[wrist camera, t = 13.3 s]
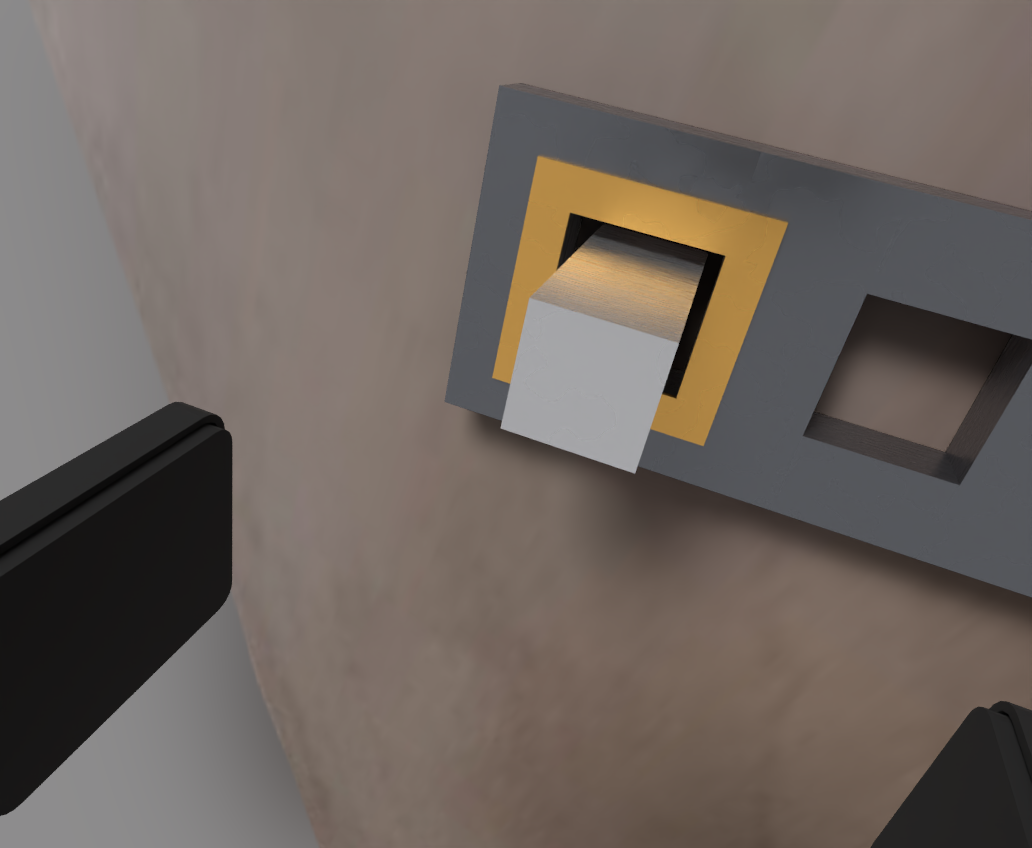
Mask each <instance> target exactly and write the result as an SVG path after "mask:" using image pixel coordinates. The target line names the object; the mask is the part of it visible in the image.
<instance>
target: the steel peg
mask: <svg viewBox="0 0 1032 848" xmlns="http://www.w3.org/2000/svg"><path fill="white" fill-rule="evenodd" d="M707 256H708V253H706V252H703V251H699V250H696V249H692V248H689V247H685V246H682V245H678V244H674V243H671V242H667V241H664V240H660V239H657V238H653V237H649V236H646V235H642V234H639V233H635V232H632V231H628V230H625V229H621V228H617V227H614V226H610V225H607V224H603V225H602V226H601V227H600V228H599V229H598V230H597V231H596V232H595V233H594V234H593V235H592V236H591V237H590V238H589V239H588V240H587V241H586V242H585V243H584V244H583V245H582V246H581V247H580V248H579V249H578V250H577V251H576V252H575V253H574V254H573V255H572V256H571V257H570V258H569V259H568V260H567V261H566V262H565V263H564V264H563V265H562V266H561V267H560V268H559V269H558V270H557V271H556V272H555V273H554V274H553V275H552V276H551V277H550V278H549V279H548V280H547V281H546V282H545V283H544V284H543V285H542V286H541V287H540V288H539V289H538V290H537V291H536V292H535V293H534V294H533V295H532V296H531V297H530V298H529V302H528V306H527V311H526V315H525V320H524V324H523V329H522V333H521V338H520V342H519V347H518V351H517V356H516V360H515V365H514V370H513V374H512V379H511V383H510V388H509V392H508V397H507V401H506V406H505V410H504V415H503V419H502V424H501V429H504V430H507V431H510V432H513V433H516V434H519V435H522V436H525V437H528V438H531V439H534V440H537V441H540V442H542V443H545V444H548V445H551V446H554V447H557V448H560V449H563V450H566V451H569V452H572V453H575V454H578V455H581V456H584V457H587V458H590V459H593V460H596V461H599V462H602V463H605V464H608V465H611V466H614V467H617V468H620V469H623V470H626V471H628V472H631V473H634V474H635V472H636V469H637V466H638V463H639V460H640V457H641V455H642V452H643V449H644V446H645V443H646V440H647V437H648V434H649V431H650V428H651V425H652V422H653V419H654V416H655V413H656V410H657V407H658V404H659V401H660V398H661V395H662V392H663V389H664V386H665V383H666V380H667V377H668V374H669V371H670V368H671V365H672V362H673V359H674V356H675V353H676V351H677V348H678V345H679V342H680V338H681V335H682V332H683V329H684V326H685V323H686V320H687V317H688V314H689V311H690V308H691V305H692V302H693V299H694V296H695V293H696V290H697V286H698V283H699V280H700V277H701V274H702V271H703V268H704V265H705V262H706V259H707Z"/></svg>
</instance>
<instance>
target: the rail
mask: <svg viewBox="0 0 1032 848" xmlns="http://www.w3.org/2000/svg"><path fill="white" fill-rule="evenodd" d="M583 216H585V217H588V218H592V219H595V220H599V221H603V222H606V223H610V224H613V225H617V226H621V227H624V228H628V229H631V230H635V231H638V232H642V233H646V234H649V235H653V236H656V237H660V238H664V239H667V240H671V241H674V242H678V243H682V244H685V245H689V246H692V247H696V248H699V249H703V250H707V251H710V252H714V253H717V254H721V255H724V257H723V260H722V263H721V265H720V268H719V271H718V274H717V277H716V280H715V283H714V286H713V289H712V292H711V294H710V297H709V300H708V303H707V306H706V309H705V312H704V315H703V318H702V321H701V323H700V326H699V329H698V332H697V335H696V338H695V341H694V344H693V347H692V350H691V352H690V355H689V358H688V361H687V364H686V367H685V370H684V372H683V371H680V370H676V369H673V368H670V371H669V374H668V377H667V380H666V383H665V386H664V389H663V392H662V395H661V398H660V401H659V404H658V407H657V410H656V413H655V416H654V419H653V422H652V425H651V428H650V431H649V434H648V437H647V440H646V443H645V446H644V449H643V452H642V455H641V457H640V460H639V463H638V466H639V467H642V468H645V469H648V470H651V471H654V472H657V473H660V474H663V475H666V476H669V477H672V478H675V479H678V480H681V481H684V482H687V483H690V484H693V485H696V486H699V487H702V488H705V489H708V490H711V491H714V492H717V493H720V494H723V495H726V496H729V497H732V498H735V499H738V500H741V501H744V502H747V503H750V504H753V505H756V506H759V507H762V508H765V509H768V510H771V511H774V512H777V513H780V514H783V515H786V516H789V517H792V518H795V519H798V520H801V521H804V522H807V523H810V524H813V525H816V526H819V527H822V528H825V529H828V530H831V531H834V532H837V533H840V534H843V535H846V536H849V537H852V538H855V539H858V540H861V541H864V542H867V543H870V544H873V545H876V546H879V547H882V548H885V549H888V550H891V551H894V552H897V553H900V554H903V555H906V556H909V557H912V558H915V559H918V560H921V561H924V562H927V563H930V564H933V565H936V566H939V567H942V568H945V569H948V570H951V571H954V572H957V573H960V574H963V575H966V576H969V577H972V578H975V579H978V580H981V581H984V582H987V583H990V584H993V585H996V586H999V587H1002V588H1005V589H1008V590H1011V591H1014V592H1017V593H1020V594H1023V595H1026V596H1029V597H1032V211H1029V210H1025V209H1021V208H1017V207H1013V206H1009V205H1005V204H1001V203H997V202H993V201H989V200H985V199H981V198H977V197H973V196H969V195H965V194H961V193H957V192H953V191H949V190H945V189H941V188H937V187H933V186H929V185H925V184H921V183H917V182H913V181H909V180H905V179H901V178H897V177H893V176H889V175H885V174H881V173H877V172H873V171H869V170H865V169H861V168H857V167H853V166H849V165H845V164H841V163H837V162H833V161H829V160H825V159H821V158H817V157H813V156H809V155H805V154H801V153H797V152H793V151H789V150H785V149H782V148H778V147H774V146H770V145H766V144H762V143H758V142H754V141H750V140H746V139H742V138H738V137H734V136H730V135H726V134H722V133H718V132H714V131H710V130H706V129H702V128H698V127H694V126H690V125H686V124H682V123H678V122H674V121H670V120H666V119H662V118H658V117H654V116H650V115H646V114H642V113H638V112H634V111H630V110H626V109H622V108H618V107H614V106H610V105H606V104H602V103H598V102H594V101H590V100H586V99H582V98H578V97H574V96H570V95H566V94H562V93H558V92H554V91H550V90H546V89H542V88H538V87H534V86H530V85H526V84H522V83H519V84H509V85H500V86H499V91H498V97H497V102H496V108H495V114H494V120H493V126H492V131H491V137H490V143H489V149H488V154H487V160H486V166H485V172H484V177H483V183H482V189H481V195H480V200H479V206H478V212H477V218H476V224H475V229H474V235H473V241H472V247H471V252H470V258H469V264H468V270H467V275H466V281H465V287H464V293H463V298H462V304H461V310H460V316H459V322H458V327H457V333H456V339H455V345H454V350H453V356H452V362H451V368H450V373H449V379H448V385H447V391H446V397H445V402H447V403H450V404H453V405H456V406H459V407H462V408H465V409H468V410H471V411H474V412H477V413H480V414H483V415H486V416H489V417H492V418H495V419H498V420H501V421H502V419H503V415H504V410H505V406H506V401H507V397H508V392H509V388H510V383H511V379H512V374H513V370H514V365H515V360H516V356H517V351H518V347H519V342H520V338H521V333H522V329H523V324H524V320H525V315H526V311H527V306H528V302H529V298H530V297H531V296H532V295H533V294H534V293H535V292H536V291H537V290H538V289H539V288H540V287H541V286H542V285H543V284H544V283H545V282H546V281H547V280H548V279H549V278H550V277H551V276H552V275H553V274H554V273H555V272H556V271H557V270H558V269H559V268H560V267H561V266H562V265H563V264H564V263H565V262H566V261H567V260H568V259H569V258H570V257H571V256H572V255H573V254H574V250H575V246H576V242H577V238H578V233H579V229H580V225H581V221H582V217H583ZM867 294H870V295H874V296H877V297H881V298H884V299H888V300H892V301H895V302H899V303H902V304H906V305H910V306H913V307H917V308H920V309H924V310H928V311H931V312H935V313H938V314H942V315H946V316H949V317H953V318H956V319H960V320H964V321H967V322H971V323H974V324H978V325H981V326H985V327H989V328H992V329H996V330H999V331H1003V332H1007V333H1010V334H1013V335H1012V336H1011V338H1010V340H1009V342H1008V343H1007V345H1006V347H1005V349H1004V350H1003V352H1002V354H1001V356H1000V357H999V359H998V361H997V363H996V364H995V366H994V368H993V370H992V371H991V373H990V375H989V377H988V379H987V380H986V382H985V384H984V386H983V387H982V389H981V391H980V393H979V394H978V396H977V398H976V400H975V401H974V403H973V405H972V407H971V408H970V410H969V412H968V414H967V415H966V417H965V419H964V421H963V422H962V424H961V426H960V428H959V429H958V431H957V433H956V435H955V436H954V438H953V440H952V442H951V443H950V445H949V447H948V449H947V450H946V452H943V451H939V450H936V449H933V448H930V447H926V446H923V445H920V444H917V443H913V442H910V441H907V440H904V439H900V438H897V437H894V436H891V435H888V434H884V433H881V432H878V431H875V430H871V429H868V428H865V427H862V426H858V425H855V424H852V423H849V422H845V421H842V420H839V419H836V418H832V417H829V416H826V415H823V414H819V413H816V412H814V410H815V408H816V405H817V403H818V401H819V399H820V397H821V394H822V392H823V390H824V388H825V386H826V383H827V381H828V379H829V377H830V374H831V372H832V370H833V368H834V366H835V363H836V361H837V359H838V357H839V355H840V352H841V350H842V348H843V346H844V344H845V341H846V339H847V337H848V335H849V333H850V330H851V328H852V326H853V324H854V322H855V319H856V317H857V315H858V313H859V310H860V308H861V306H862V304H863V302H864V299H865V297H866V295H867Z"/></svg>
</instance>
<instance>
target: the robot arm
mask: <svg viewBox="0 0 1032 848" xmlns="http://www.w3.org/2000/svg"><path fill="white" fill-rule="evenodd" d="M231 586H232V436H231V434H230V432H228V431H227V430H225V428H224V423H223V421H222V419H221V418H220V417H219V416H217V415H216V414H213V413H210V412H207V411H205V410H202V409H199V408H196V407H194V406H191V405H188V404H185V403H183V402H174V403H171V404H169V405H167V406H165V407H163V408H162V409H160V410H158V411H156V412H155V413H153V414H151V415H150V416H148V417H146V418H144V419H142V420H141V421H139V422H138V423H135V424H134V425H132V426H130V427H128V428H127V429H125V430H123V431H121V432H120V433H118V434H116V435H114V436H113V437H111V438H109V439H107V440H106V441H104V442H102V443H100V444H99V445H97V446H95V447H93V448H92V449H90V450H88V451H86V452H85V453H83V454H81V455H79V456H78V457H76V458H74V459H72V460H71V461H69V462H67V463H65V464H64V465H62V466H60V467H58V468H57V469H55V470H53V471H51V472H50V473H48V474H46V475H45V476H43V477H41V478H39V479H38V480H36V481H34V482H32V483H30V484H29V485H27V486H25V487H23V488H22V489H20V490H18V491H16V492H15V493H13V494H11V495H9V496H8V497H6V498H4V499H2V500H1V501H0V816H1V815H5V814H7V813H9V812H11V811H13V810H14V809H15V808H16V807H18V806H19V805H20V804H21V803H22V802H23V801H24V800H26V798H28V796H30V795H31V794H32V793H33V791H35V790H36V788H38V787H39V786H40V785H41V784H42V783H43V782H44V781H45V780H46V779H47V778H48V777H49V776H50V775H51V774H52V773H53V772H54V771H55V770H56V769H57V768H58V767H59V766H60V765H61V764H62V763H63V762H64V761H65V760H66V759H67V758H68V757H69V756H70V755H71V754H72V753H73V752H74V751H75V750H76V749H78V747H80V745H82V744H83V743H84V741H86V740H87V739H88V738H89V737H90V736H91V735H92V734H93V733H94V732H95V731H96V730H97V729H98V728H99V727H100V726H101V725H102V724H103V723H104V722H105V721H106V720H107V719H108V718H109V717H110V716H111V715H112V714H113V713H114V712H115V711H116V710H117V709H118V708H119V707H120V706H121V705H122V704H123V703H124V702H125V701H126V700H127V699H128V698H129V697H130V696H132V695H133V694H134V692H136V690H138V689H139V688H140V687H141V686H142V685H143V684H144V683H145V682H146V681H147V680H148V679H149V678H150V677H151V676H152V675H153V674H154V673H155V672H156V671H157V670H158V669H159V668H160V667H161V666H162V665H163V664H164V663H165V662H166V661H167V660H168V659H169V658H170V657H171V656H172V655H173V654H174V653H175V652H176V651H177V650H178V649H179V648H180V647H181V646H182V645H183V644H185V642H187V641H188V640H189V639H190V637H192V636H193V635H194V634H195V633H196V632H197V630H199V629H200V628H201V627H202V625H204V624H205V623H206V622H207V621H208V620H209V619H210V618H211V617H212V616H213V615H214V614H215V613H216V612H217V611H218V610H219V609H220V608H221V606H222V605H223V604H224V602H225V601H226V599H227V597H228V595H229V593H230V590H231ZM871 848H1032V710H1029V709H1026V708H1023V707H1021V706H1018V705H1015V704H1012V703H1010V702H1005V701H1000V702H998V703H996V704H994V705H993V706H992V707H991V708H990V709H987V708H984V707H977V708H975V709H973V710H972V711H971V712H970V713H969V715H968V716H967V717H966V719H965V720H964V721H963V723H962V724H961V725H960V727H959V728H958V729H957V731H956V732H955V733H954V735H953V736H952V738H951V739H950V740H949V742H948V743H947V744H946V746H945V747H944V748H943V750H942V751H941V752H940V754H939V755H938V756H937V758H936V759H935V760H934V762H933V763H932V765H931V766H930V767H929V769H928V770H927V771H926V773H925V774H924V775H923V777H922V778H921V779H920V781H919V782H918V783H917V785H916V786H915V787H914V789H913V790H912V792H911V793H910V794H909V796H908V797H907V798H906V800H905V801H904V802H903V804H902V805H901V806H900V808H899V809H898V810H897V812H896V813H895V814H894V816H893V817H892V819H891V820H890V821H889V823H888V824H887V825H886V827H885V828H884V829H883V831H882V832H881V833H880V835H879V836H878V837H877V839H876V840H875V841H874V843H873V844H872V846H871Z"/></svg>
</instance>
